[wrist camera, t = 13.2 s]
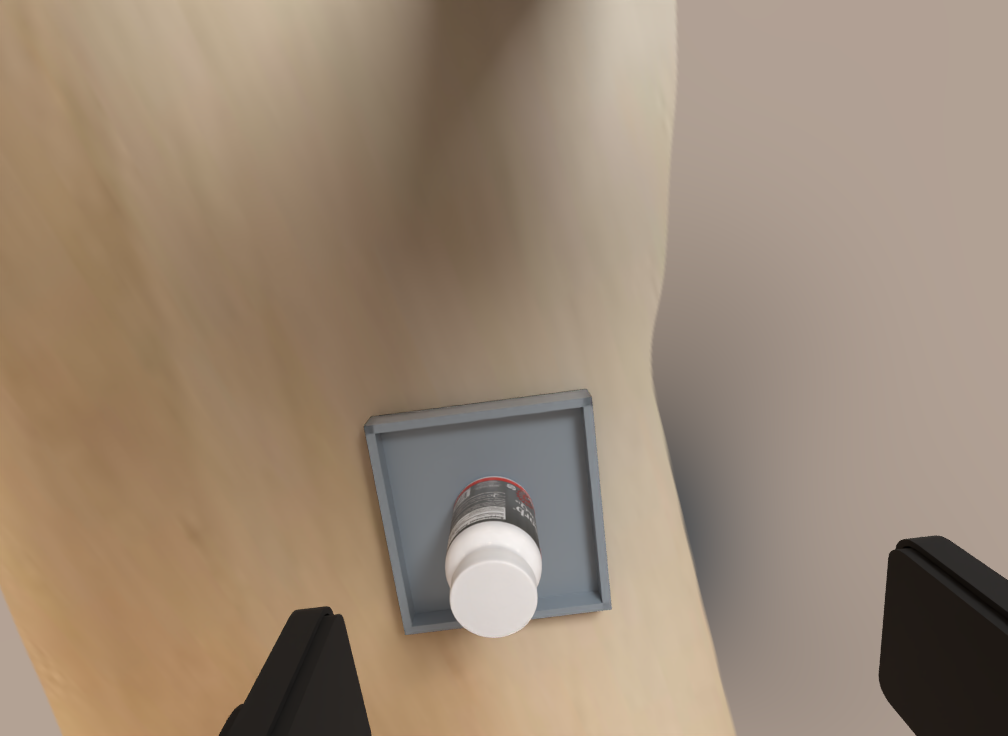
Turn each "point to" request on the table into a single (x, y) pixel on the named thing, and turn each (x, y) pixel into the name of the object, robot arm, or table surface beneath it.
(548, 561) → the slate tray
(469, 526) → the pill bottle
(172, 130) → the table surface
